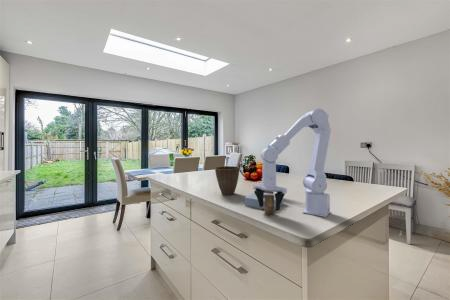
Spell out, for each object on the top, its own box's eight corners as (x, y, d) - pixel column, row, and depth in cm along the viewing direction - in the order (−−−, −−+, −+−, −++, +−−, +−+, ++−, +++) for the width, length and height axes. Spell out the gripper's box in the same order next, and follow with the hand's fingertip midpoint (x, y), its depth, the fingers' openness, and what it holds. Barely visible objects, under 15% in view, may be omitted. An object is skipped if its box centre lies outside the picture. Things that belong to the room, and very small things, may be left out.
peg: (275, 213, 88) (275, 195, 88) (271, 216, 85) (271, 197, 85) (267, 211, 90) (267, 193, 90) (263, 214, 87) (262, 195, 87)
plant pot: (214, 197, 117) (213, 169, 116) (216, 191, 132) (215, 166, 131) (240, 197, 116) (240, 169, 116) (239, 191, 131) (239, 166, 131)
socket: (283, 203, 103) (283, 195, 102) (271, 210, 91) (271, 202, 91) (258, 199, 111) (258, 191, 111) (244, 205, 100) (244, 197, 100)
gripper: (249, 176, 88) (250, 207, 89) (281, 179, 80) (282, 213, 80) (257, 174, 94) (257, 203, 94) (288, 176, 85) (288, 209, 86)
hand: (269, 207), depth 88 cm, fingers open, 7 cm apart
